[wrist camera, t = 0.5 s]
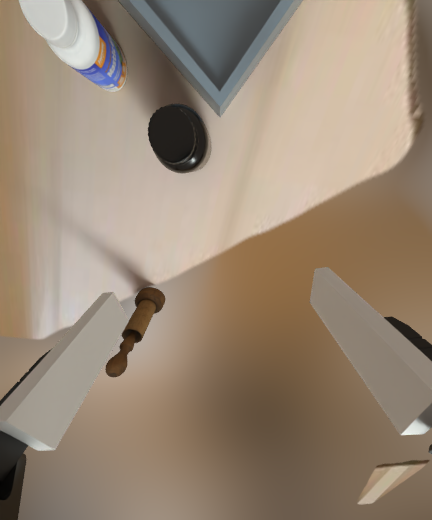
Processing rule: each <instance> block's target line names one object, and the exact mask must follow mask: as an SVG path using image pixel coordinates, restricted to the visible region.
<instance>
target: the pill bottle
mask: <svg viewBox="0 0 432 520" xmlns="http://www.w3.org/2000/svg"><path fill="white" fill-rule="evenodd" d="M19 3H20V6H21V9H22V11H23V14H24V16H25V17H26V19H27V21H28V22H29V24H30V25H31V26H32V28H33V29H34V30H35V31H36V32H37V33H38V34H39V35H41V36H42V37H43V38H44V39H45V40H46V41H47V43H48V45H49V46H50V48H51V49H52V50H53V52H54V53H55V54H56V55H57V56H58V57H59V58H60V59H61V60H62V61H64V62H65V63H66V64H68V65H69V66H70V67H72V68H73V69H75V70H76V71H78V72H79V73H81V74H82V75H83V76H85V77H86V78H88V79H89V80H91V81H92V82H94V83H95V84H96V85H98V86H99V87H101V88H103V89H104V90H107V91H110V92H115V91H118V90H120V89H121V88H122V87H123V86H124V84H125V82H126V79H127V64H126V60H125V57H124V55H123V52H122V51H121V49H120V47H119V46H118V44H117V43H116V42H115V41H114V39H113V38H112V37H111V36H110V34H109V33H108V32H107V31H106V30H105V28H104V27H103V26H102V25H101V24H100V22H99V21H98V20H97V19H96V17H95V16H94V15H93V14H92V12H91V11H90V10H89V9H88V7H87V6H86V5H85V4H84V3H83V1H82V0H19Z"/></svg>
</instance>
